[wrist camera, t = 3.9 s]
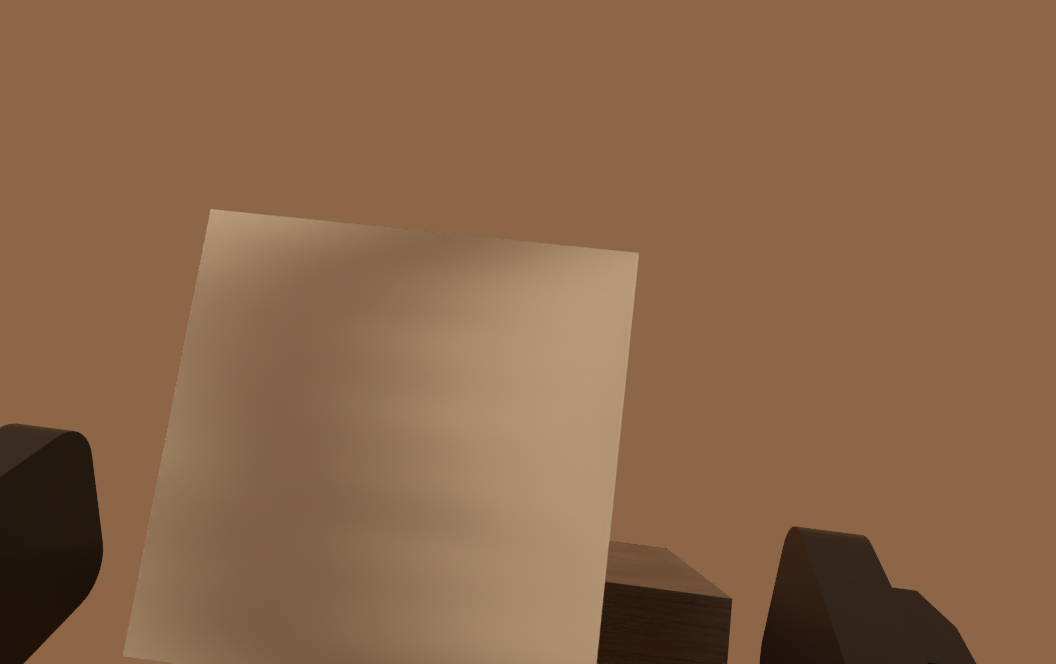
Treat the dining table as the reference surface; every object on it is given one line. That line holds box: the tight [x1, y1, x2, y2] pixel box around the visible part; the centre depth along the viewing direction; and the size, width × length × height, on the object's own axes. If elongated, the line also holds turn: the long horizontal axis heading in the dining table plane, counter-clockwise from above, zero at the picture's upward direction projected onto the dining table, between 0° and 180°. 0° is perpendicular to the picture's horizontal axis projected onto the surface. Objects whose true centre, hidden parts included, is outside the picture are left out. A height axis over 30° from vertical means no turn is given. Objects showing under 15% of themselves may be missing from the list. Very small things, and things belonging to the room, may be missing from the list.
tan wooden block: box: [123, 209, 639, 664], centre depth 20 cm, size 4×26×8 cm, turn 176°
